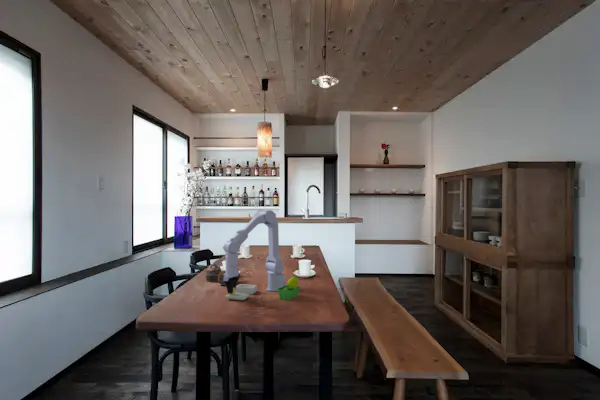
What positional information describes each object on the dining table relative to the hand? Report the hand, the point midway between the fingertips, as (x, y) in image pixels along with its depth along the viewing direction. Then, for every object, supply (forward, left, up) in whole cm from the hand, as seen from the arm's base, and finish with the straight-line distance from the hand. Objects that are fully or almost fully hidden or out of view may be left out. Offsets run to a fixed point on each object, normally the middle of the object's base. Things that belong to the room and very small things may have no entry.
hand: (231, 292), depth 177 cm
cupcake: (+26, -34, -3) cm, 43 cm away
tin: (+14, -29, -3) cm, 32 cm away
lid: (-3, 0, -2) cm, 4 cm away
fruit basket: (-28, -7, -3) cm, 29 cm away
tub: (-3, -12, -3) cm, 13 cm away
